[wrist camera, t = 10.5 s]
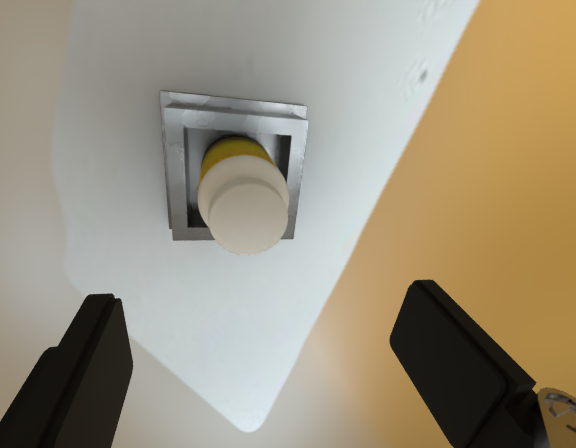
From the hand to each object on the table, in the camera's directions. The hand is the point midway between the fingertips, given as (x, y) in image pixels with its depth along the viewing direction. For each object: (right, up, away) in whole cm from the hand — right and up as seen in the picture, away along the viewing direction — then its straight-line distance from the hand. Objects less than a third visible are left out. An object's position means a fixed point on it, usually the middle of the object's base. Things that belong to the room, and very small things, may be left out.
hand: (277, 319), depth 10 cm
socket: (-5, +8, +18) cm, 20 cm away
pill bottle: (-4, +8, +17) cm, 20 cm away
